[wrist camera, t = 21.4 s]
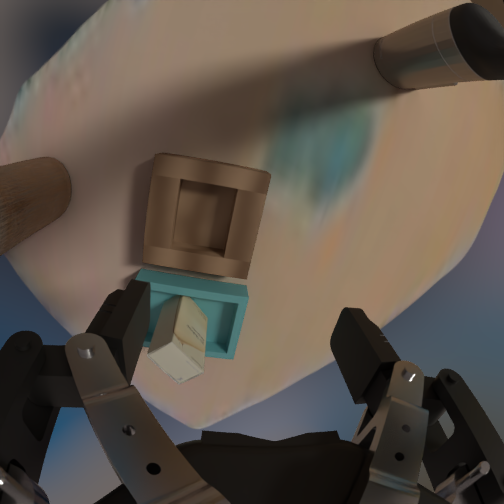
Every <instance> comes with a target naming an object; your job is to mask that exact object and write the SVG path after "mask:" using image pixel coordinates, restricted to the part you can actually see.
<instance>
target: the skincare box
mask: <svg viewBox="0 0 504 504" xmlns="http://www.w3.org/2000/svg"><path fill="white" fill-rule="evenodd" d="M207 321H208V318H207V316H206V315H205V314H204V313H203V312H202V310H201V309H200V308H199V307H198V306H197V305H196V303H195V302H194V301H193V300H192V299H191V298H190V296H184V295H178V294H177V295H175V296H174V297H172V298H170V299H169V300H167V301H166V302H164V304H163V307H162V310H161V313H160V315H159V319H158V322H157V325H156V328H155V331H154V334H153V337H152V340H151V343H150V347H149V350H148V353H147V357H148V358H150V359H151V360H152V361H153V362H154V363H155V364H156V365H157V366H158V367H159V368H160V369H161V370H162V371H163V372H165V373H166V374H167V375H168V376H169V377H171V378H172V379H173V380H174V381H176V382H177V383H178V384H181V383H184V382H186V381H188V380H190V379H193V378H195V377H197V376H199V375H201V374H203V373H204V361H205V347H206V334H207Z"/></svg>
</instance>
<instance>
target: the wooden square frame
mask: <svg viewBox="0 0 504 504" xmlns="http://www.w3.org/2000/svg"><path fill="white" fill-rule="evenodd" d="M270 179H271V174H270V173H268V172H267V171H263V170H258V169H254V168H249V167H244V166H239V165H234V164H228V163H223V162H218V161H212V160H206V159H201V158H194V157H188V156H182V155H175V154H168V153H158V154H155V159H154V165H153V171H152V177H151V184H150V191H149V199H148V207H147V216H146V225H145V235H144V247H143V260H142V262H143V263H148V264H154V265H160V266H166V267H172V268H178V269H184V270H190V271H196V272H202V273H208V274H215V275H221V276H228V277H234V278H241V279H247V276H248V271H249V267H250V263H251V259H252V255H253V250H254V246H255V242H256V238H257V234H258V229H259V225H260V221H261V217H262V212H263V208H264V204H265V200H266V196H267V191H268V187H269V183H270Z"/></svg>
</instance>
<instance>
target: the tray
mask: <svg viewBox="0 0 504 504" xmlns="http://www.w3.org/2000/svg"><path fill="white" fill-rule="evenodd" d="M135 280H140V281H146V282H150V284H151V298H150V323H149V328H148V331H147V334H146V337H145V340H144V343H143V346H144V347H150V343H151V340H152V337H153V334H154V331H155V328H156V325H157V322H158V319H159V315H160V313H161V310H162V307H163V304H164V302H166V301H167V300H169V299H170V298H172V297H174V296H175V295H177V294H178V295H184V296H190V298H191V299H192V300H193V301H194V302H195V303H196V305H197V306H198V307H199V308H200V309H201V310H202V312H203V313H204V314H205V315H206V316H207V318H208V321H207V334H206V347H205V356H206V357H215V358H223V359H233V358H234V354H235V350H236V346H237V342H238V338H239V335H240V331H241V327H242V323H243V319H244V315H245V311H246V307H247V303H248V299H249V296H248V291H247V286H246V285H239V284H232V283H225V282H219V281H212V280H206V279H200V278H193V277H187V276H181V275H175V274H169V273H163V272H158V271H152V270H146V269H141V270H140V272H139V273H138V275H137V277H136V279H135Z"/></svg>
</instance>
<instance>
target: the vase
mask: <svg viewBox="0 0 504 504" xmlns="http://www.w3.org/2000/svg"><path fill="white" fill-rule="evenodd" d="M70 197H71V182H70V178H69V175H68V172H67V170H66V169H65V167H64V166H63V165H62V163H60V162H59V161H58V160H56V159H54V158H51V157H40V158H35V159H30V160H25V161H21V162H16V163H12V164H8V165H3V166H0V256H1V255H2V254H4V253H5V252H7V251H8V250H9V249H11V248H12V247H14V246H15V245H17V244H18V243H20V242H21V241H23V240H24V239H26V238H27V237H29V236H30V235H32V234H33V233H35V232H36V231H38V230H40V229H41V228H43V227H44V226H46V225H48V224H49V223H51V222H53V221H54V220H56V219H57V218H58V217H60V216H61V215H62V214H63V213H64V212H65V210H66V209H67V207H68V204H69V201H70Z"/></svg>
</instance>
